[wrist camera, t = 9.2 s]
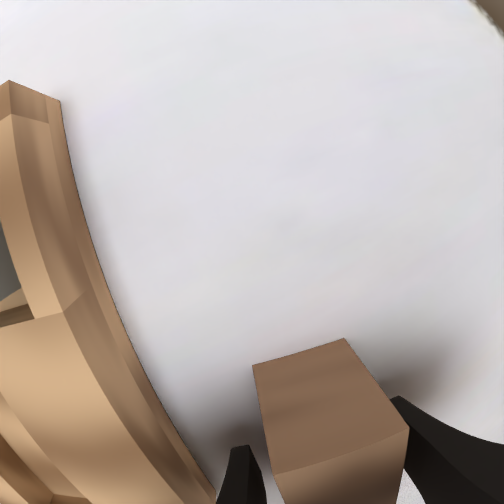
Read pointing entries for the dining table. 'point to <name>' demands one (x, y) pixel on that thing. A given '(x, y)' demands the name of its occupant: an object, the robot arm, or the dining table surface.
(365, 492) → the brown wooden block
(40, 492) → the jig
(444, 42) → the dining table surface
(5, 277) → the grey square post
